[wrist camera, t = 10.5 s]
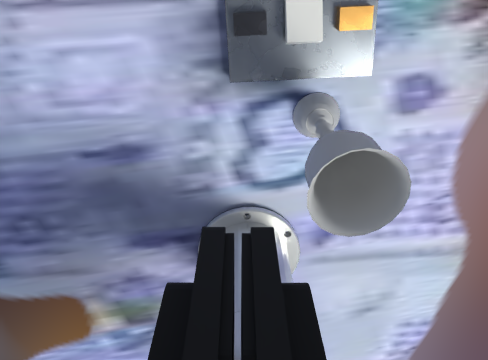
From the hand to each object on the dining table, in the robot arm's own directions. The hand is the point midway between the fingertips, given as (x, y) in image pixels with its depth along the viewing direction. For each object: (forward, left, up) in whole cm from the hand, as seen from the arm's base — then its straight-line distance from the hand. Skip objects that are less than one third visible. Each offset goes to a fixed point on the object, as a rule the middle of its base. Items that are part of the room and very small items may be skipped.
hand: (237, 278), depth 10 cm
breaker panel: (+2, -6, -36) cm, 36 cm away
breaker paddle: (+2, -6, -34) cm, 34 cm away
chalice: (-8, -8, -36) cm, 38 cm away
